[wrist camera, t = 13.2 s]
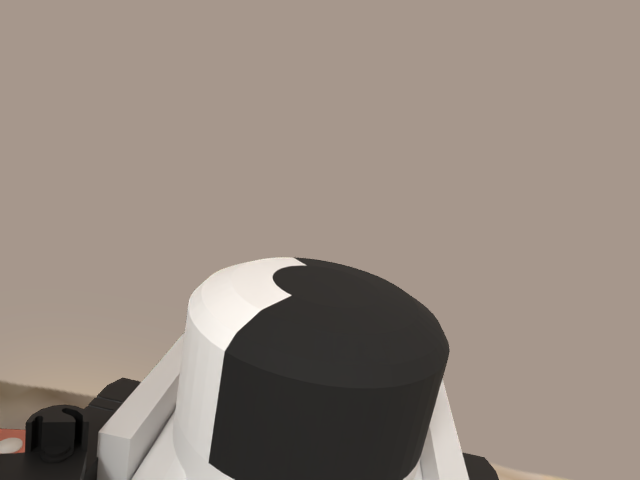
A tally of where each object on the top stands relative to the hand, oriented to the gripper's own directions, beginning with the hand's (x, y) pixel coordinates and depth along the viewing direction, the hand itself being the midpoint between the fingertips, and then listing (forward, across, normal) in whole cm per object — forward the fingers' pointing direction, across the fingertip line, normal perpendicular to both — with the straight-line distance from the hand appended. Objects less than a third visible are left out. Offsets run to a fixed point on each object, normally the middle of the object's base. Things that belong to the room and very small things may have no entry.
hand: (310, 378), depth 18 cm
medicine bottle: (-5, 0, +7) cm, 8 cm away
